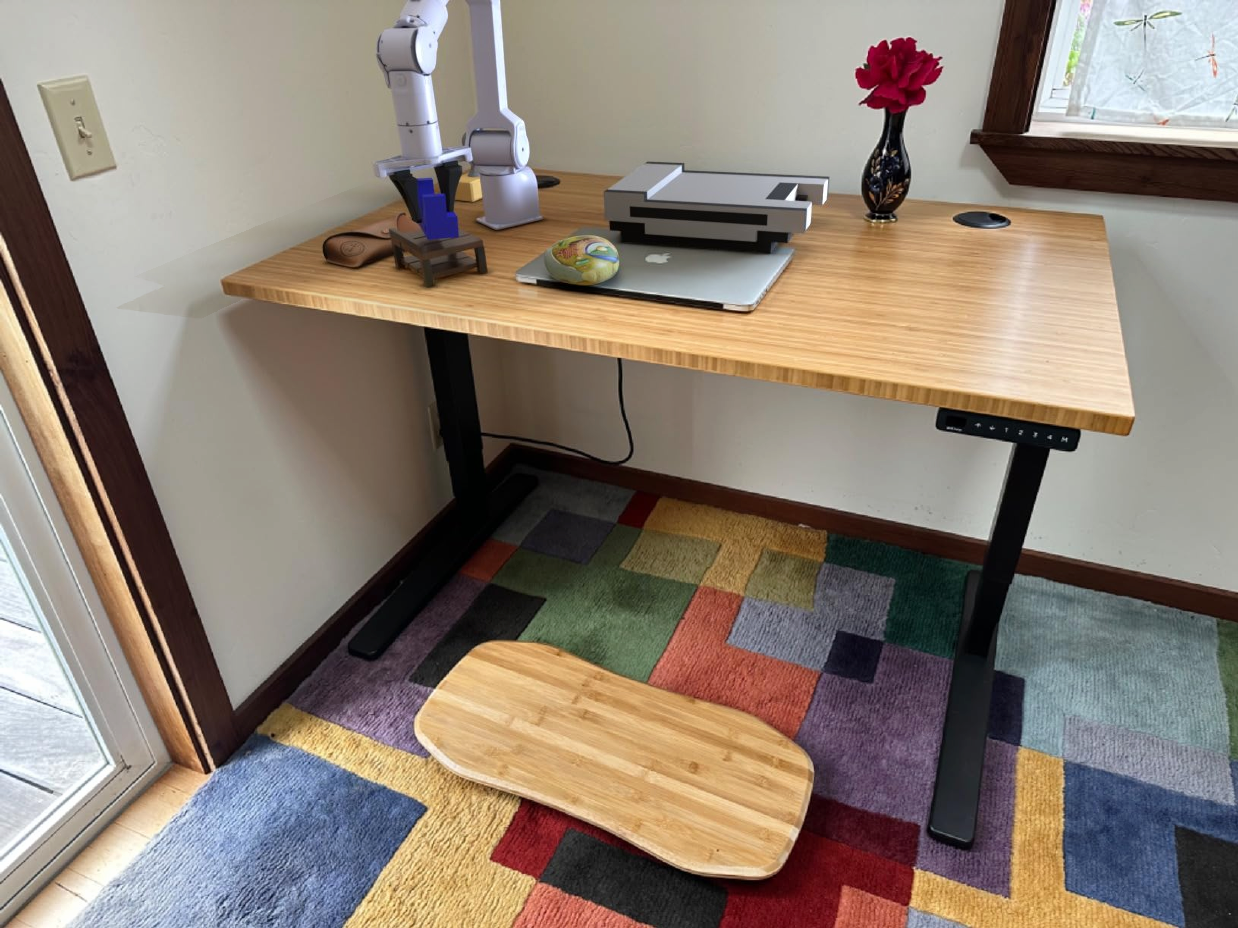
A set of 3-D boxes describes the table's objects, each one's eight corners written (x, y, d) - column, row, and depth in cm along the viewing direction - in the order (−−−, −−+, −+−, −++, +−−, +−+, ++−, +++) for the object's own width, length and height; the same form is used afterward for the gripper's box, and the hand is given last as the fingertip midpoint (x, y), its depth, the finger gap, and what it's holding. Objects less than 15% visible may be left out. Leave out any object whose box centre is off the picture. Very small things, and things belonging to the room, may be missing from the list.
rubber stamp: (473, 202, 167) (464, 137, 160) (450, 199, 169) (440, 135, 163) (504, 189, 174) (497, 126, 168) (481, 187, 177) (473, 125, 170)
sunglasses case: (358, 266, 135) (335, 227, 134) (337, 282, 140) (316, 244, 139) (440, 235, 147) (421, 199, 146) (419, 251, 152) (400, 216, 151)
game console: (802, 257, 131) (805, 202, 126) (606, 242, 141) (603, 191, 137) (826, 218, 147) (830, 169, 143) (648, 208, 158) (647, 161, 153)
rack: (453, 253, 140) (447, 215, 137) (487, 272, 132) (482, 232, 128) (395, 267, 136) (388, 228, 132) (427, 288, 127) (420, 246, 124)
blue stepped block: (458, 237, 126) (455, 195, 123) (427, 239, 124) (423, 197, 121) (444, 216, 135) (441, 177, 132) (415, 218, 134) (411, 178, 131)
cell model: (620, 242, 133) (625, 233, 118) (612, 292, 135) (615, 290, 120) (551, 230, 133) (546, 220, 118) (543, 281, 134) (538, 277, 119)
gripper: (379, 134, 116) (397, 234, 123) (476, 118, 123) (488, 214, 130) (360, 127, 121) (379, 223, 128) (454, 112, 128) (467, 205, 135)
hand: (432, 218), depth 129 cm, fingers closed on blue stepped block, 4 cm apart
